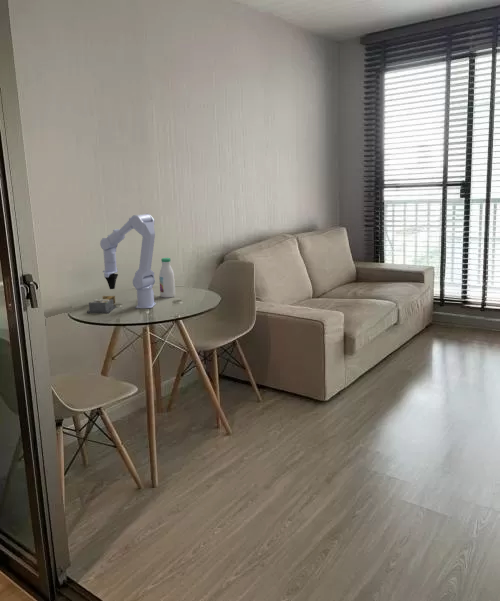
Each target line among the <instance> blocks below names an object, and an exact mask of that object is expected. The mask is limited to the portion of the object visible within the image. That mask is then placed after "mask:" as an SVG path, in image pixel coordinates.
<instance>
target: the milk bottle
mask: <svg viewBox="0 0 500 601" xmlns="http://www.w3.org/2000/svg"><path fill="white" fill-rule="evenodd" d="M160 267H161V268H160V269H159V275H158V276H159V292H160V294H159V295H160V297H161V298H173V297H176V284H175V283H176V282H175V279H176V278H175V272H174V269H173V267H172V266H171V257H170V258H169V257H163V258H161V266H160Z"/></svg>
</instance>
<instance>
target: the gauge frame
mask: <svg viewBox="0 0 500 601" xmlns="http://www.w3.org/2000/svg"><path fill="white" fill-rule="evenodd" d="M96 300H101V299H100V298H97V299H96ZM88 308H89V309H88V310H87V311H86V313H87V314H110V313H111V312H112V311H114V310H115V309H116V308H117V304H113V299H110V300H109V301H107V302H100V301H94V300H93V301H92V302H88Z"/></svg>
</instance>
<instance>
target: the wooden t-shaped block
mask: <svg viewBox="0 0 500 601" xmlns="http://www.w3.org/2000/svg"><path fill="white" fill-rule="evenodd" d="M101 298H102V300H110V299H113V304H114V305H116V295H102V297H101ZM103 302H107V301H103Z"/></svg>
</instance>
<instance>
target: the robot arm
mask: <svg viewBox="0 0 500 601" xmlns="http://www.w3.org/2000/svg"><path fill="white" fill-rule="evenodd" d="M133 229H134V230H135V231H136V232H137V233H138V234H139V235H141V237H142V240H141V249H140V257H139V258H140V259H139V267H138V269H137V270H136V272H135V273H134V277H133V278H132V286H133V287H134V288H135V290H136V297H137V301H136V302H137V305H136V306H135V307H134V308H135V309H152V308H154V306H155V305H156V304H157V303H156V302H155V295H154V294H155V293H154V289H153V287H154V285H155V282H156V279H155V272H154V270H152V262H153V253H154V244H155V240H156V239H155V238H156V231H155V219H154V217H153V216H152V215H151V214H150V213H144V214H134V215H132V216H131V217H129V218H128V220H127V221H126V222H125V223H124V225H123V226H122V227H120V228H114V229H113V230H112V232H111V233H110V234H108V235H107V237H102V238H101V239H100V243H99V245H100V248H101V249H102V251H103V260H104V262H103V264H104V270H102V273H103V277H104V279H105V280H106V282H107V286H108V288H109V290H115V289H116V283H117V279H118V276H119V274H118V267H117V266H118V265H117V255H116V252H117V247H118V245H119V244H120V243H121V242H122V241H123V240H124V239H125V238H126V234H128V233H129V232H130V231H132V230H133Z"/></svg>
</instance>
